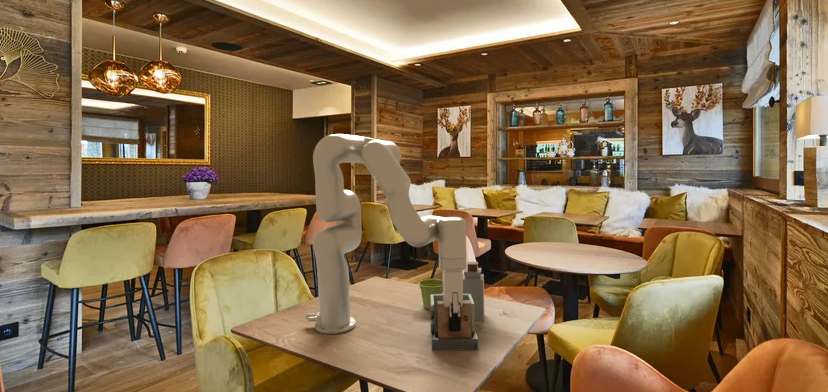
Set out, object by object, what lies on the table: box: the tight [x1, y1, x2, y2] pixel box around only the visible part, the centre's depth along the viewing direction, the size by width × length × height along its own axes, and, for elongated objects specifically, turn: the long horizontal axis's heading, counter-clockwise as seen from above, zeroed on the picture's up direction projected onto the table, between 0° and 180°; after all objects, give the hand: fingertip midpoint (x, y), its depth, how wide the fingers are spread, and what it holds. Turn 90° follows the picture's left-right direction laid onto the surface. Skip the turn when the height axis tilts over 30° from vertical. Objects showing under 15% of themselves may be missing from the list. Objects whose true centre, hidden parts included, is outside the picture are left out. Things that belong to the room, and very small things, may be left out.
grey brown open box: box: [429, 306, 479, 352], centre depth 114 cm, size 13×6×11 cm, turn 89°
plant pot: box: [418, 278, 443, 310], centre depth 145 cm, size 9×9×9 cm
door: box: [437, 300, 472, 338], centre depth 113 cm, size 9×3×10 cm, turn 89°
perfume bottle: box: [463, 261, 485, 323], centre depth 134 cm, size 7×7×18 cm
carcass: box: [431, 293, 476, 333], centre depth 120 cm, size 12×9×11 cm
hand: (454, 328), depth 114 cm, fingers closed on door, 2 cm apart
